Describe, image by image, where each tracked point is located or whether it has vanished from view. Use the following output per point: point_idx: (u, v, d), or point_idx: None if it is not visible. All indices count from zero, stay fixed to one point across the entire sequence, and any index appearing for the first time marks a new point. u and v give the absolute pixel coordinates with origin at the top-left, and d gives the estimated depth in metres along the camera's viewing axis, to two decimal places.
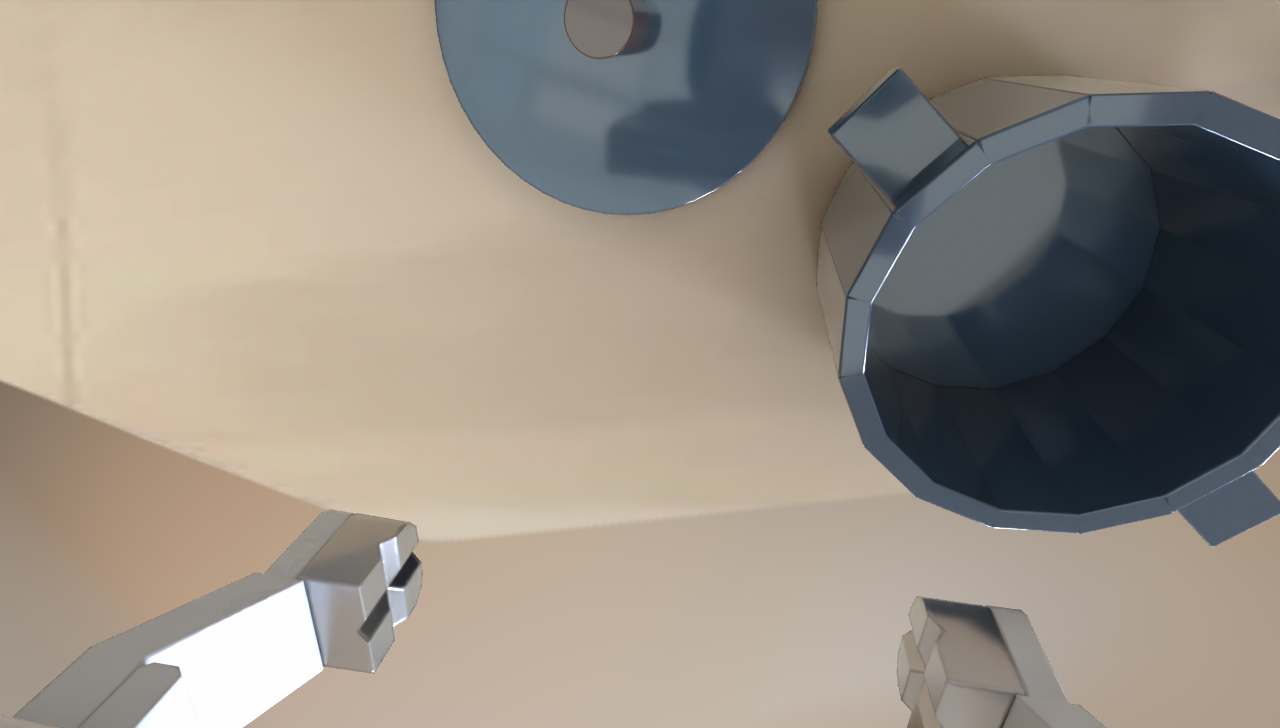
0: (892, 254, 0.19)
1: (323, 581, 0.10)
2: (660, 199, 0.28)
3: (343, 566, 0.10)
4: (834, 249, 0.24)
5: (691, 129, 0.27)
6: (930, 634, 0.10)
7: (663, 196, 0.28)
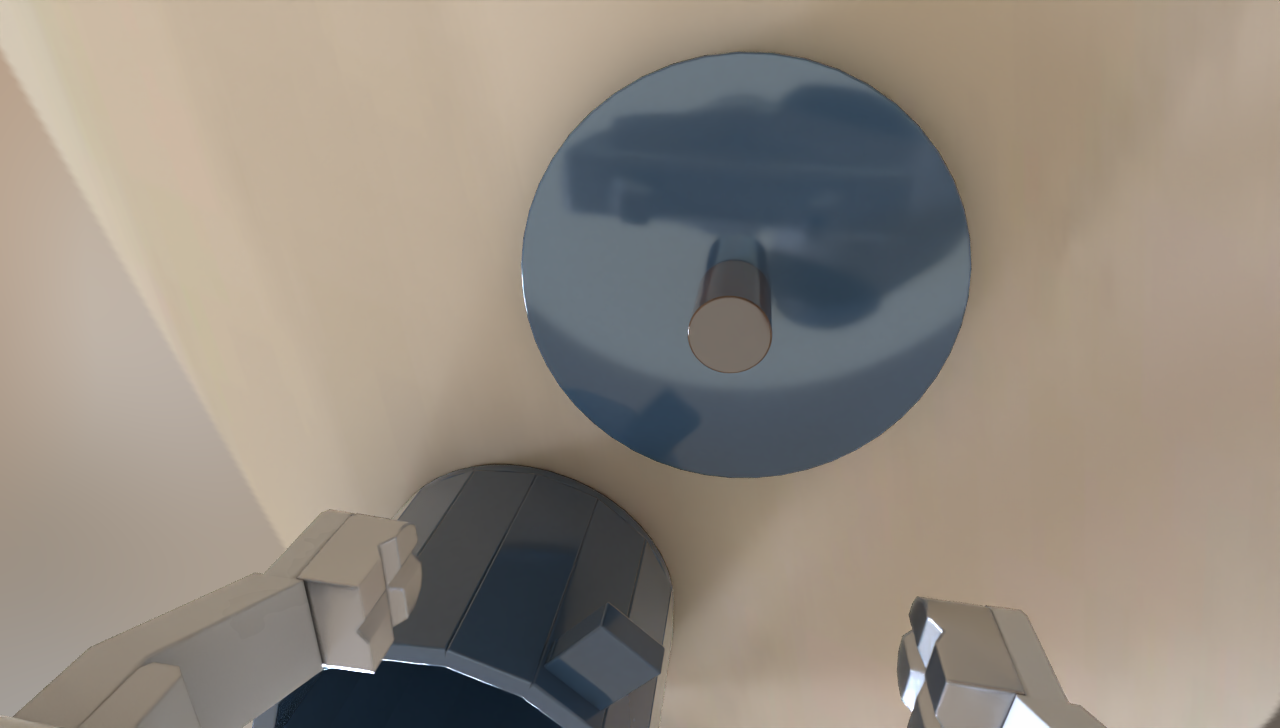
0: (494, 682, 0.20)
1: (323, 581, 0.10)
2: (544, 330, 0.24)
3: (343, 566, 0.10)
4: (504, 550, 0.23)
5: (622, 366, 0.24)
6: (930, 634, 0.10)
7: (548, 333, 0.24)
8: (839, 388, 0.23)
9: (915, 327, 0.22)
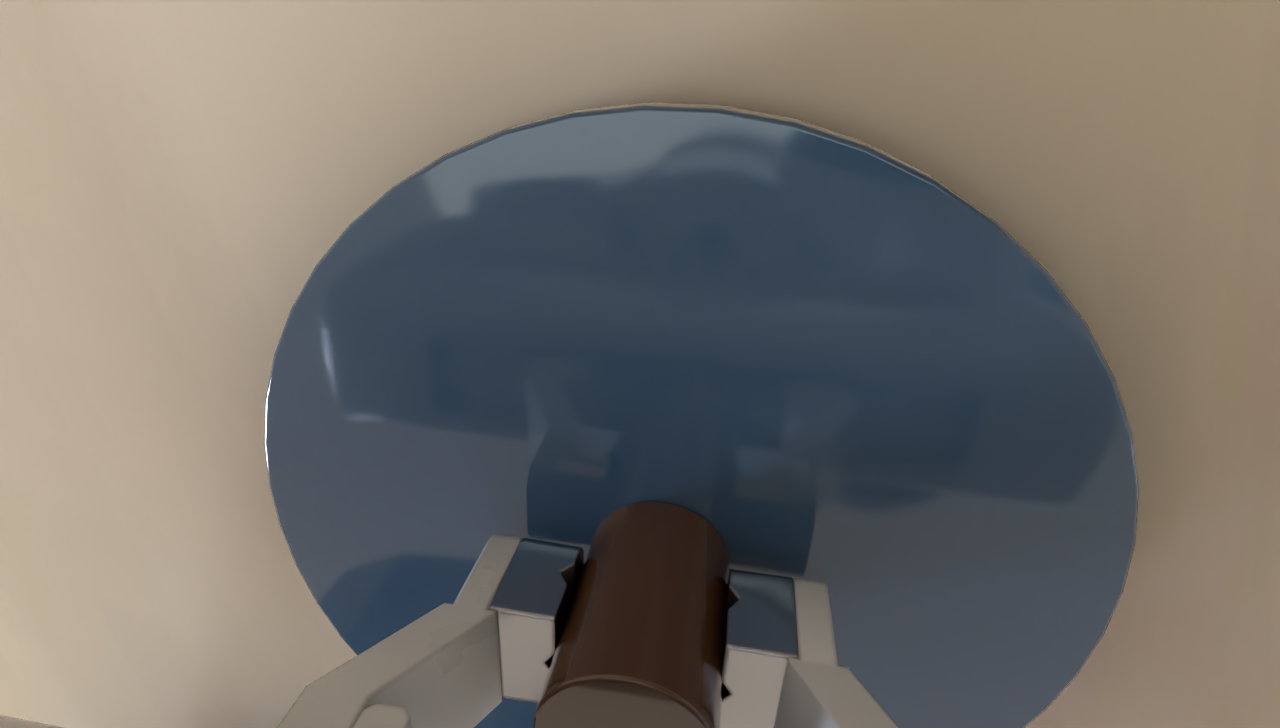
0: None
1: (515, 612, 0.09)
2: (328, 588, 0.13)
3: (531, 596, 0.10)
4: None
5: None
6: (731, 604, 0.10)
7: (335, 594, 0.13)
8: None
9: (1011, 631, 0.11)
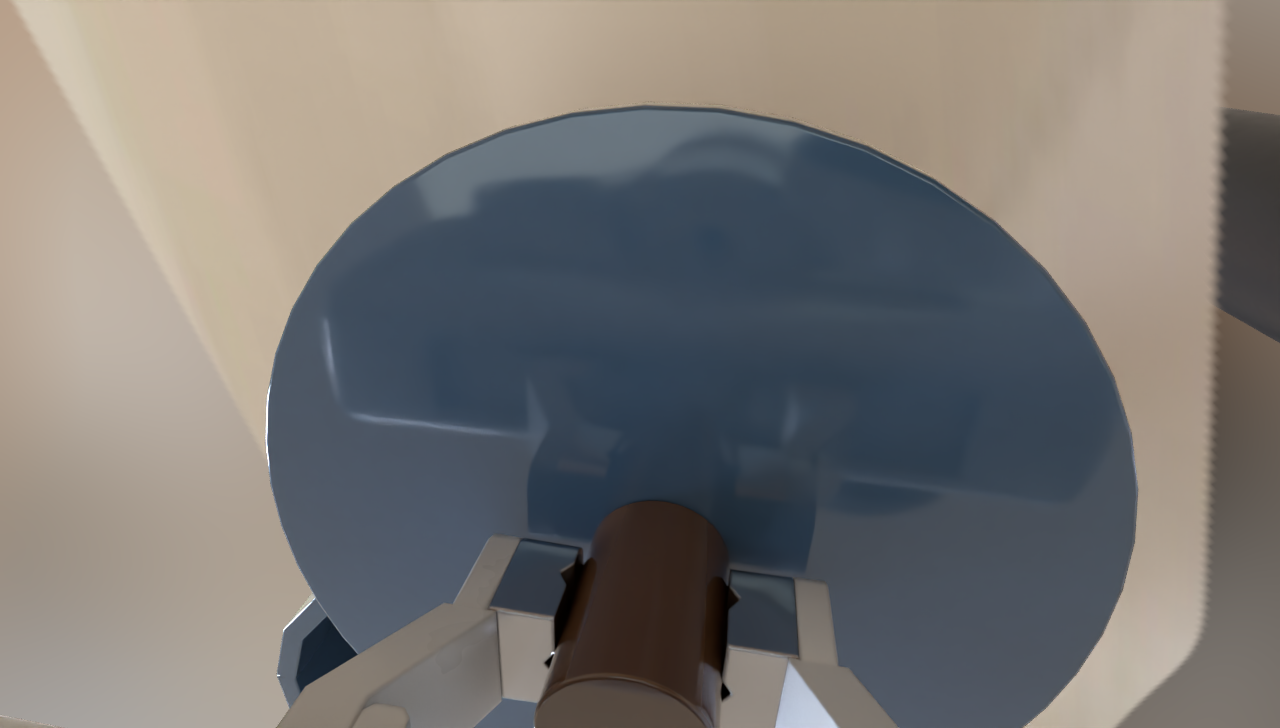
0: None
1: (515, 612, 0.09)
2: (329, 586, 0.13)
3: (531, 595, 0.10)
4: None
5: None
6: (732, 604, 0.10)
7: (336, 592, 0.13)
8: None
9: (1011, 630, 0.11)
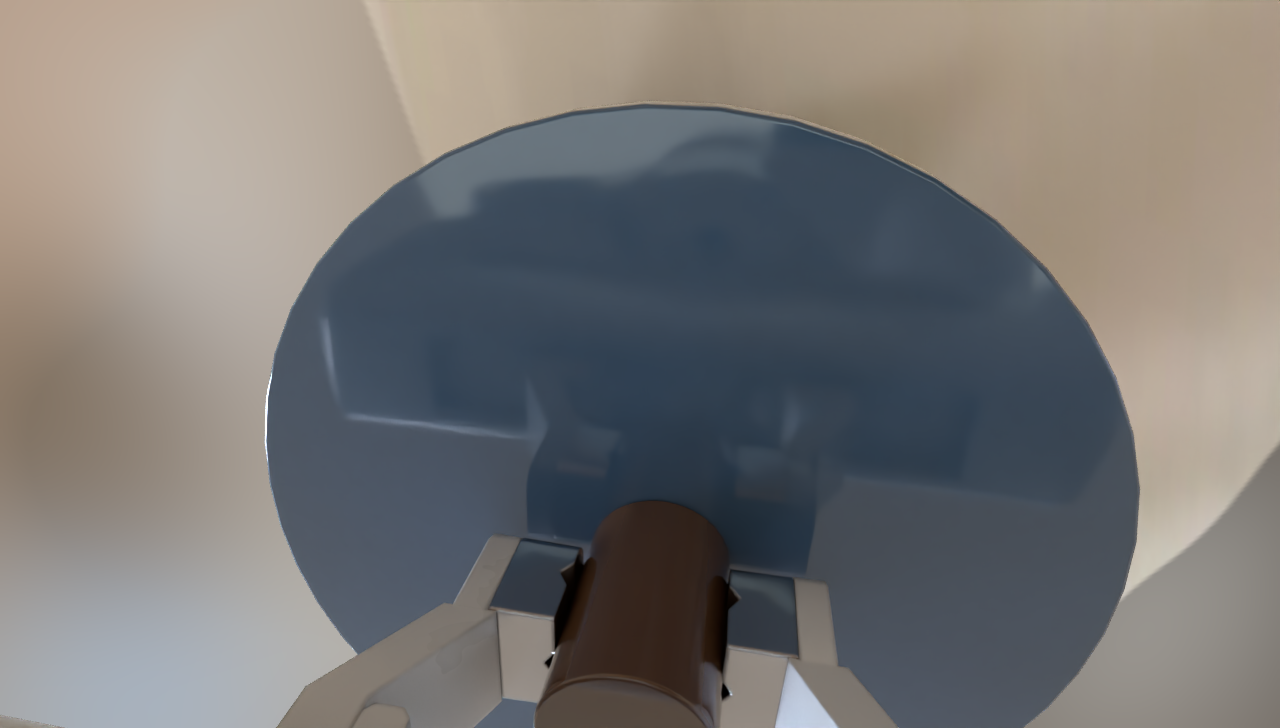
0: None
1: (515, 612, 0.09)
2: (328, 586, 0.13)
3: (531, 596, 0.10)
4: None
5: None
6: (731, 604, 0.10)
7: (335, 592, 0.13)
8: None
9: (1012, 630, 0.11)
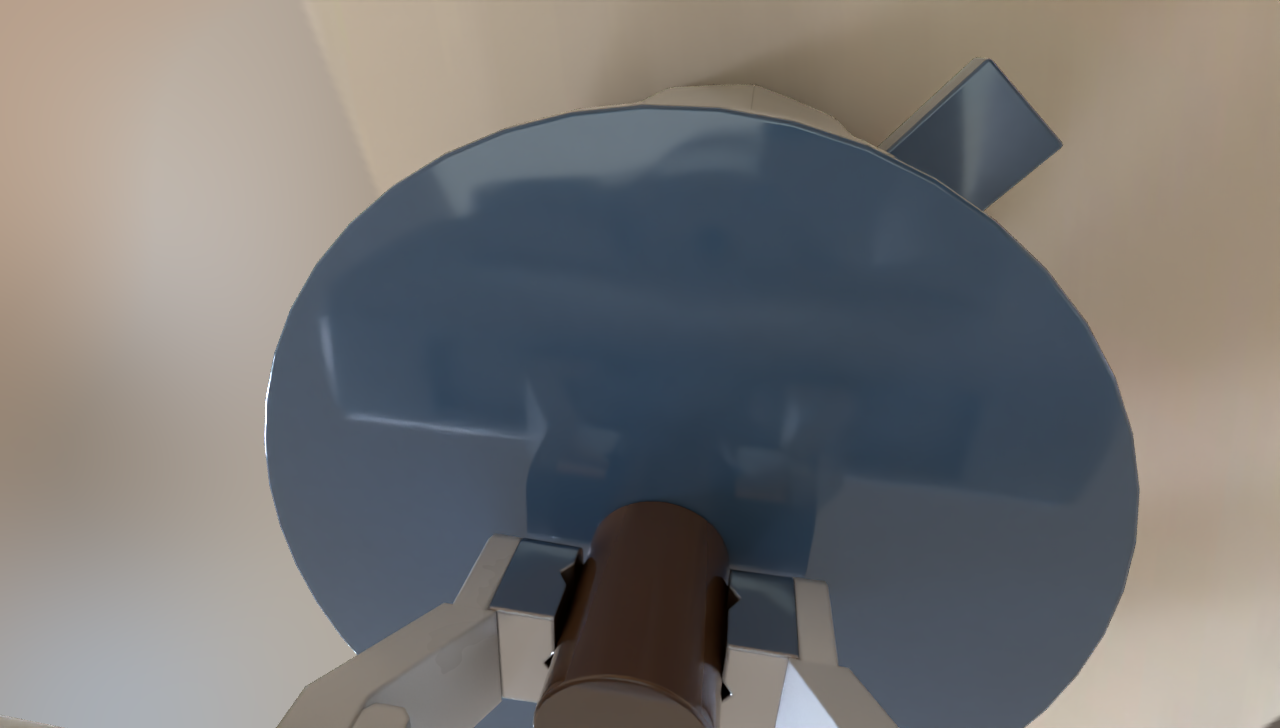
0: None
1: (515, 612, 0.09)
2: (328, 587, 0.13)
3: (531, 596, 0.10)
4: (761, 96, 0.17)
5: None
6: (732, 604, 0.10)
7: (335, 593, 0.13)
8: None
9: (1011, 631, 0.11)
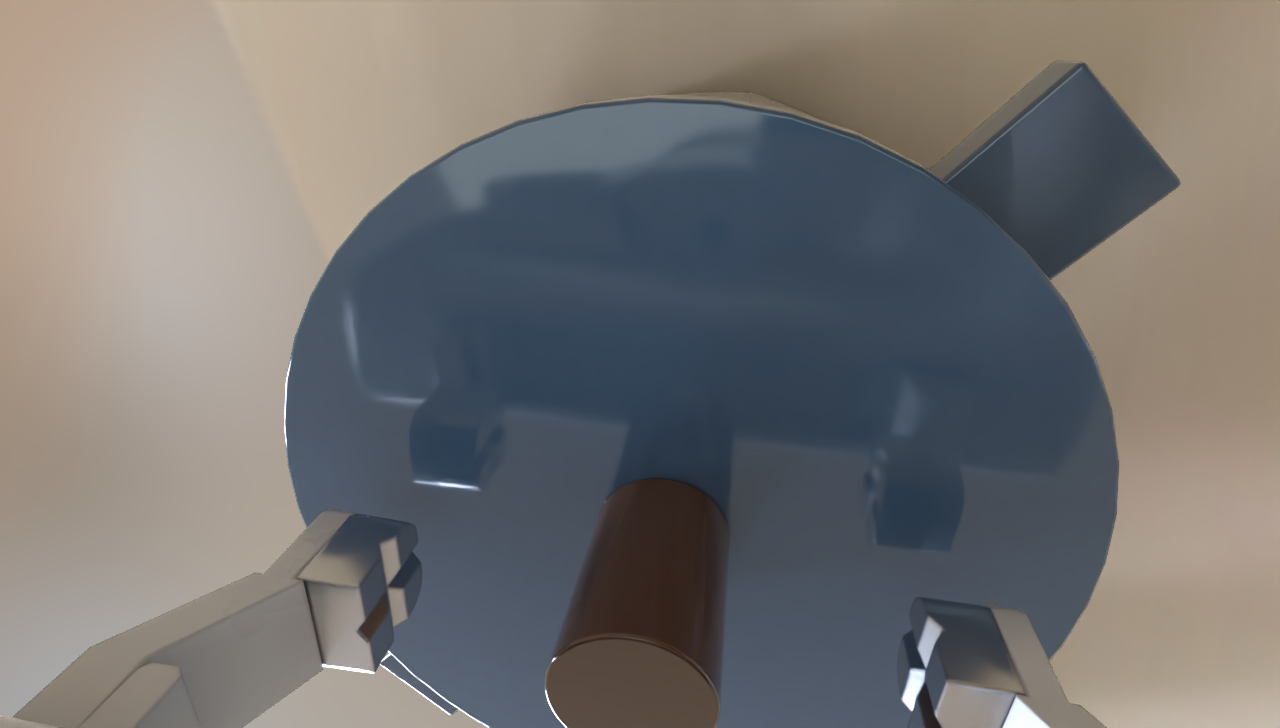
0: None
1: (323, 581, 0.10)
2: None
3: (343, 566, 0.10)
4: None
5: (479, 624, 0.14)
6: (930, 634, 0.10)
7: None
8: (855, 682, 0.13)
9: (999, 602, 0.12)
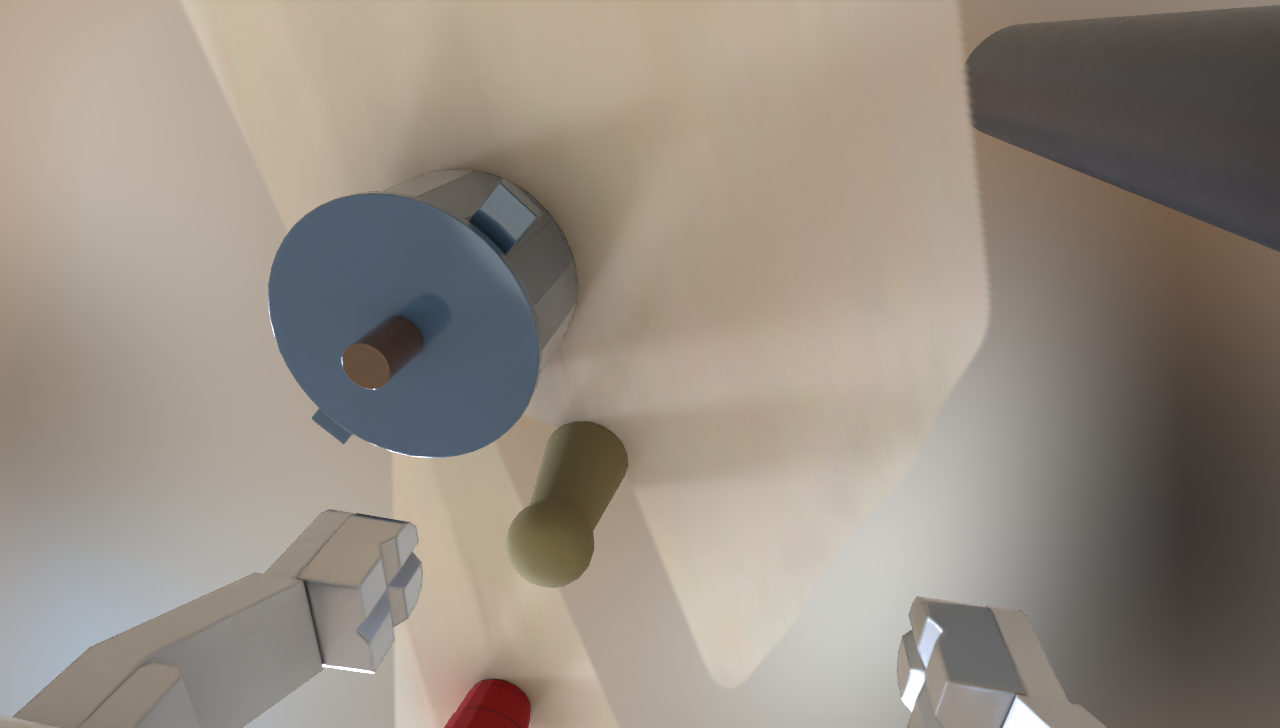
0: None
1: (323, 581, 0.10)
2: (291, 359, 0.36)
3: (343, 566, 0.10)
4: (447, 186, 0.36)
5: (343, 382, 0.36)
6: (930, 634, 0.10)
7: (294, 361, 0.36)
8: (477, 397, 0.35)
9: (512, 359, 0.34)
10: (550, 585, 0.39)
